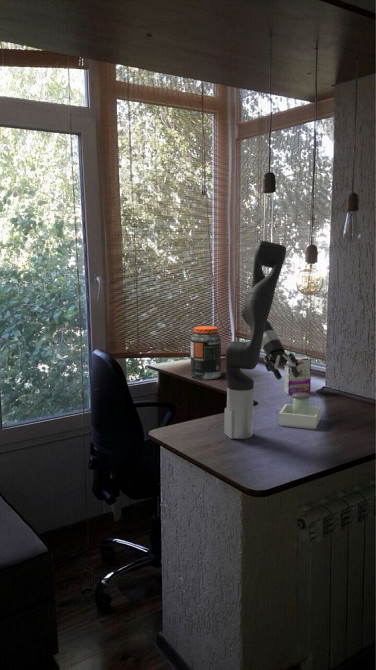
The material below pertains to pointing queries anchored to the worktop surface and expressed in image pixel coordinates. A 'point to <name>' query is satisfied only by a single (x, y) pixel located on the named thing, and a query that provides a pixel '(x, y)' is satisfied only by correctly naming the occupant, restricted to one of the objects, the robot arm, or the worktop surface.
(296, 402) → the jar
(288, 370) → the candy bar box
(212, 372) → the supplement tub
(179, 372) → the worktop surface
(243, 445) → the worktop surface
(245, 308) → the robot arm
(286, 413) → the tray
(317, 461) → the worktop surface
